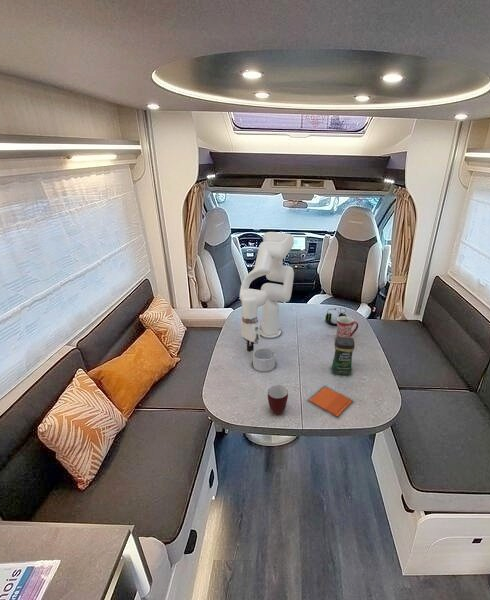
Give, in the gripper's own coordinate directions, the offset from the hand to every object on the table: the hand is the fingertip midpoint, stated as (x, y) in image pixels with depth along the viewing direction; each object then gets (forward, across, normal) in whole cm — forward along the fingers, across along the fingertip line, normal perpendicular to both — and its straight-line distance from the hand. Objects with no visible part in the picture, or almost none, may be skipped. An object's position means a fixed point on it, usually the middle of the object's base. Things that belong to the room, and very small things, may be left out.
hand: (250, 350), depth 162 cm
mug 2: (+4, -28, -50) cm, 58 cm away
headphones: (+4, -12, -66) cm, 67 cm away
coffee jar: (+4, -42, -22) cm, 48 cm away
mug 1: (+5, -36, +19) cm, 41 cm away
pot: (+4, -10, 0) cm, 11 cm away
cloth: (+4, -50, 0) cm, 50 cm away
